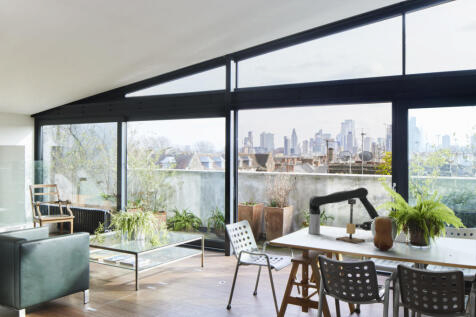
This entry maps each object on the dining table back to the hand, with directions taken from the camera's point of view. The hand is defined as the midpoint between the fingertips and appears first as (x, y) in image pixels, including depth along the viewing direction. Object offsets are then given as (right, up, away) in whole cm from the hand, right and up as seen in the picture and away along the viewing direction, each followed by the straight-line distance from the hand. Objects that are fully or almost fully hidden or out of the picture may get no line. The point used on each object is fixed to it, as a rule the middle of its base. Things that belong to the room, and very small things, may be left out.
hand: (358, 227), depth 350 cm
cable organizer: (+36, -11, -3) cm, 38 cm away
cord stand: (-8, -10, -7) cm, 14 cm away
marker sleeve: (-8, -4, -7) cm, 11 cm away
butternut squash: (+7, -11, -39) cm, 41 cm away
